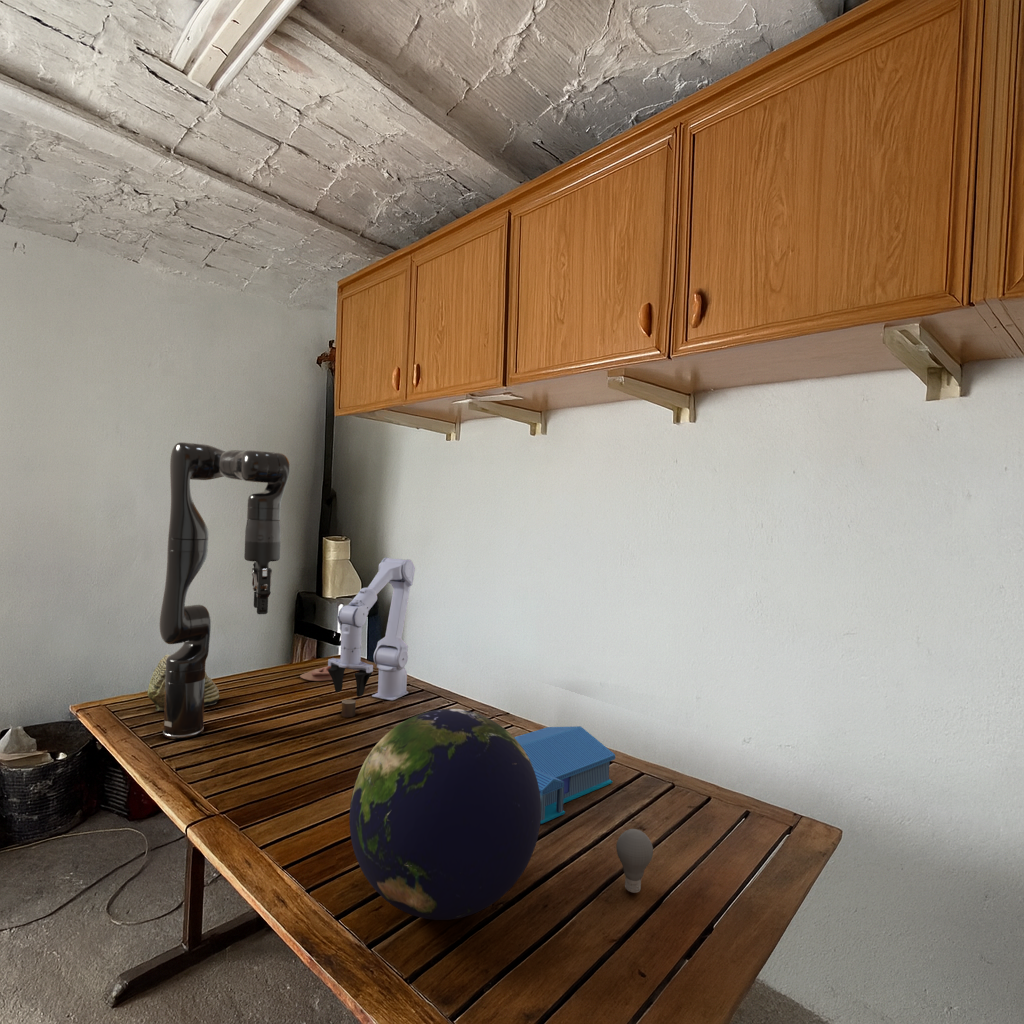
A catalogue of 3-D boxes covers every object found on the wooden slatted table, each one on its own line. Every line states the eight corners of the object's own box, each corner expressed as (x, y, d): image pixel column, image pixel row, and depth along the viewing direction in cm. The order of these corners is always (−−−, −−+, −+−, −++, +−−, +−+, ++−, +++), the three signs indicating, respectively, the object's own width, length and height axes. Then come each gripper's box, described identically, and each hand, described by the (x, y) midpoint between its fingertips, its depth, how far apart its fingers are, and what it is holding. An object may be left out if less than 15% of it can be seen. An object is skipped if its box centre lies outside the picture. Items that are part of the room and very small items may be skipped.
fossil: (144, 707, 182) (145, 655, 182) (212, 696, 194) (213, 647, 194) (151, 716, 175) (153, 662, 175) (221, 703, 188) (223, 653, 188)
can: (338, 715, 183) (339, 701, 183) (348, 711, 186) (349, 698, 186) (348, 718, 181) (348, 704, 181) (358, 714, 184) (358, 701, 184)
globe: (303, 931, 92) (311, 727, 92) (410, 834, 120) (417, 677, 120) (490, 1000, 81) (500, 768, 81) (561, 876, 109) (569, 702, 108)
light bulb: (610, 879, 108) (613, 822, 108) (644, 879, 109) (647, 822, 109) (619, 902, 102) (622, 840, 102) (655, 901, 103) (658, 840, 103)
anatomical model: (295, 667, 216) (312, 659, 227) (295, 679, 216) (312, 670, 227) (331, 671, 213) (346, 663, 224) (330, 683, 213) (346, 674, 224)
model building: (493, 845, 118) (495, 791, 117) (419, 795, 136) (421, 749, 136) (624, 787, 144) (626, 744, 144) (547, 752, 162) (548, 713, 162)
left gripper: (284, 542, 139) (281, 615, 139) (276, 537, 152) (274, 604, 152) (247, 541, 136) (244, 617, 136) (242, 537, 148) (240, 606, 149)
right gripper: (321, 646, 183) (319, 693, 183) (363, 653, 177) (361, 701, 177) (337, 641, 189) (335, 687, 189) (378, 648, 184) (376, 694, 184)
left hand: (260, 610), depth 144 cm, fingers open, 8 cm apart
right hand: (349, 693), depth 184 cm, fingers open, 7 cm apart
